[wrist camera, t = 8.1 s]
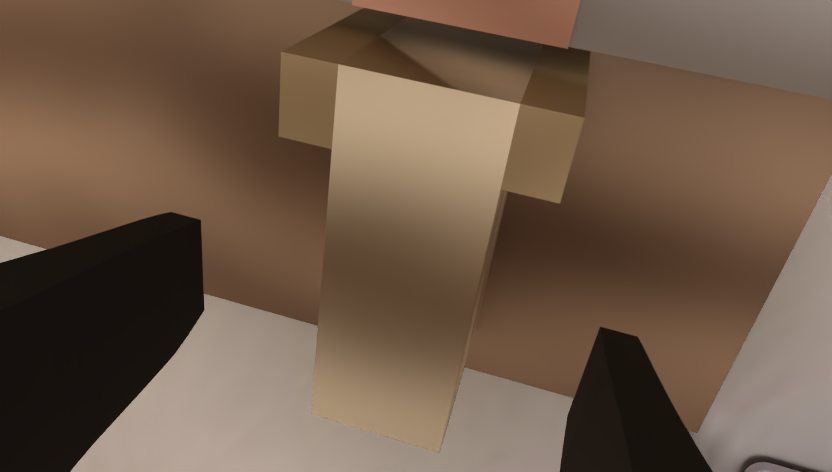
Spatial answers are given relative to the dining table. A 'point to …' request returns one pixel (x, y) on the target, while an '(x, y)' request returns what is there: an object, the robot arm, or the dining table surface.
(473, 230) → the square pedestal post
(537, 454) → the dining table surface
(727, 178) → the board
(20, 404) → the robot arm
